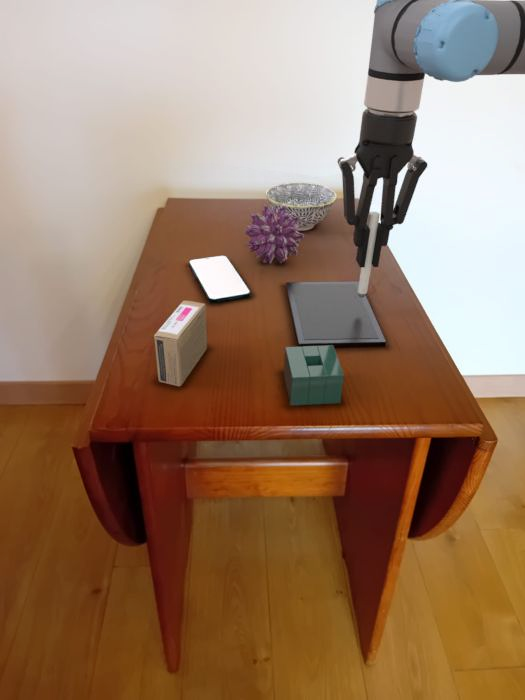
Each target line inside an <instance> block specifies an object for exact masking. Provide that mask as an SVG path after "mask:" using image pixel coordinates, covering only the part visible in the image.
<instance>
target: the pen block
mask: <svg viewBox="0 0 525 700" xmlns="http://www.w3.org/2000/svg"><path fill="white" fill-rule="evenodd" d="M283 364H284V365H283V377H284V378H283V379H284V382H285V386H286V390H287V396H288V401H289V405H290V406H291V407H292V406H293V407H294V406H307V405H308V406H309V405H312V406H313V405H328V404H331V405H332V404H341V400H342V392H343V385H344V377H345V374H344V371H343V368H342V366H341V362H340V360H339V357H338V355H337V352H336V348H334V346H333V345H327V346H302V347H298V346H285V348H284V363H283Z"/></svg>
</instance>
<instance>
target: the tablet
mask: <svg viewBox="0 0 525 700" xmlns="http://www.w3.org/2000/svg"><path fill="white" fill-rule="evenodd" d="M358 286H359V281H291V282H290V281H289V282H285V290H286V295H287V300H288V305H289V310H290V314H291V319H292V324H293V328H294V333H295V338H296V343H297V347H302V346H327V345H333V346H334V349H345V348H346V349H347V348H348V349H349V348H385V347H386V345H387V344H386V343H387V341H386V338H385V335H384V334H383V331H382V329H381V326H380V325H379V323H378V320H377V318H376V315H375V313H374V311H373V309H372V307H371V304H370V302H369V299H368V298H367V294H366V295H365V297H363V298H361V297H359V293H358Z"/></svg>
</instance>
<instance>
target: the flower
mask: <svg viewBox="0 0 525 700" xmlns="http://www.w3.org/2000/svg"><path fill="white" fill-rule="evenodd" d="M263 207H264V209H262V210H261V211H262V212H261V213H262V215H261V214H259V213H258V212H256V213H255V214H254V213H251V214H250V218H251V219H252V221H251V224H252V225H247V226H246V229H247V230H244V235H245V236H249V237H250V240H248V242H246V243H245V244H246V247H250V246H251V247H250V248H249V252H250V253H252V252H256V255H255V257H256V259H259V257H261V256H262V262H263V263H265V264H266V263H268V264H272V262H273V260H274V259H277V261H278V263H279V264H283V262H285V261H288V256H289V257H290V256H291V254H293V255H294V256H298V253H299V251H298V250H297V248H298V247H299V244H300V242H301V239H304V238H305V234H304V233H300V232H299V231H298V228H299V227H302V225H301V224H296V223H297V221H298V220H299V219H300V218H299V217H296V218H293V219H292V218H291V217H292V214H293V212H292V211H290V212H289V213H287V214H286V206H283V207H282V209H280V210H279V205H276V208H275V209H274V210H272V209H271V208H270V207H269V205H268V204H264V206H263Z"/></svg>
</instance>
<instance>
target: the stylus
mask: <svg viewBox="0 0 525 700" xmlns="http://www.w3.org/2000/svg"><path fill="white" fill-rule="evenodd" d="M380 215H381V213H379V212H377V211H369V215H368V220H367V226H368V227H369V229H370V234H369V241H368V248H367V254H366V261H365V267H360V272H359V273H360V274H359V280H358V282H359V286H358V293H359V297H361V298H363V297H365V295H366V296H367V294H368V291H369V283H370V277H371V271H372V266H373V265H372V259H373V253H374V247H375V240H376V234H377V228H378V223H379V222H380Z"/></svg>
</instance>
